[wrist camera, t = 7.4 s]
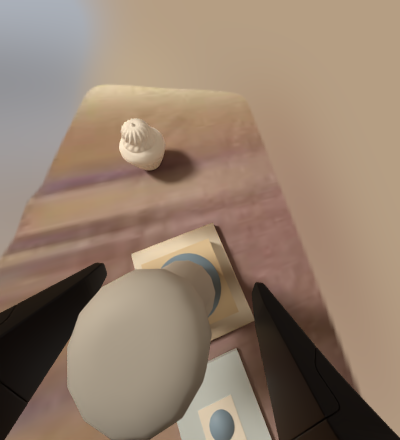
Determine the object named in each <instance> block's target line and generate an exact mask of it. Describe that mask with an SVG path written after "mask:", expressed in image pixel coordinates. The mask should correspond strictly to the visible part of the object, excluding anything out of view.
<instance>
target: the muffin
mask: <svg viewBox="0 0 400 440" xmlns="http://www.w3.org/2000/svg"><path fill="white" fill-rule="evenodd" d="M121 134H122V138H121V141H120V145H119V149H120V153H121V155H122V157H123V158H124V159H125V160H126V161H127V162H129V163H130V164H132V165H134V166H136V167H138V168H141V169H144V170H148V171H149V170H150V171H151V170H154V169H156V168H157V167H159V165H160V164H161V161H162V159H163V156H164V153H165V140H164V137H163V135H162V134H161V133H160V132H159V131H158V130H157V129H155V128H153V127H151V126H149V125H148V124H147V123H146V122H145V121H144V120H142V119H138V118H135V119H133V118H132V119H131V120H127V122H125V123H124V125H123V126H122V130H121Z"/></svg>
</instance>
